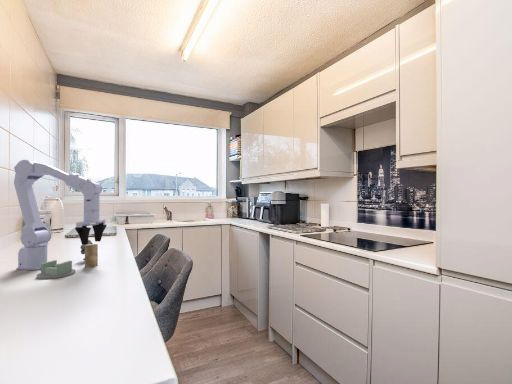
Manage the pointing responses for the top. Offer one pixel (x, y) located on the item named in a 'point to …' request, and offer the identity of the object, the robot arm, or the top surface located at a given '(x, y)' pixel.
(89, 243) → the grey lumpy tree figurine
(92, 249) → the tan wooden block
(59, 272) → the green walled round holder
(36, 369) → the top surface
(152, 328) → the top surface
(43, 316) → the top surface
